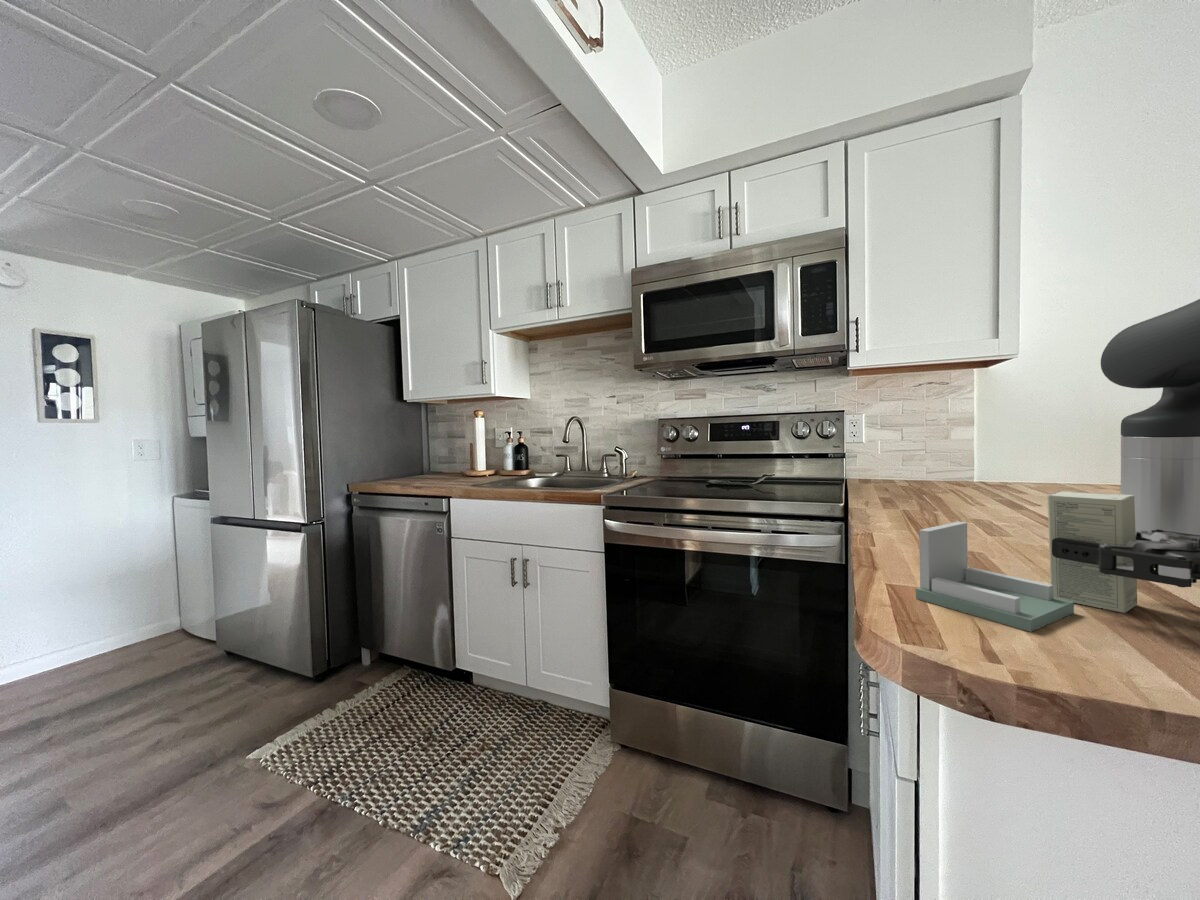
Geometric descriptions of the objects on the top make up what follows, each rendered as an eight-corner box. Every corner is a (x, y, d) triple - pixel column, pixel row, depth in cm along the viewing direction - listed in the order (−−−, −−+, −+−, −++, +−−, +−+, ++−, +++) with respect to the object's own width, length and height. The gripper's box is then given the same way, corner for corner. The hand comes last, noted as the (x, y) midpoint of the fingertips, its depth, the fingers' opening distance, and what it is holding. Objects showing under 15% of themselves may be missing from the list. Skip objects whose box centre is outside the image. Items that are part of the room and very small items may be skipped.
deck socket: (959, 584, 61) (958, 520, 61) (1074, 613, 51) (1074, 536, 51) (916, 598, 57) (915, 530, 57) (1030, 632, 47) (1030, 549, 47)
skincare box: (1138, 605, 52) (1139, 494, 52) (1125, 615, 50) (1125, 499, 50) (1061, 590, 58) (1061, 489, 57) (1046, 598, 56) (1046, 493, 55)
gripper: (1344, 523, 44) (1099, 502, 58) (1303, 547, 37) (1040, 516, 52) (1342, 605, 44) (1098, 563, 58) (1301, 641, 38) (1040, 584, 52)
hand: (1071, 541), depth 55 cm, fingers open, 8 cm apart
